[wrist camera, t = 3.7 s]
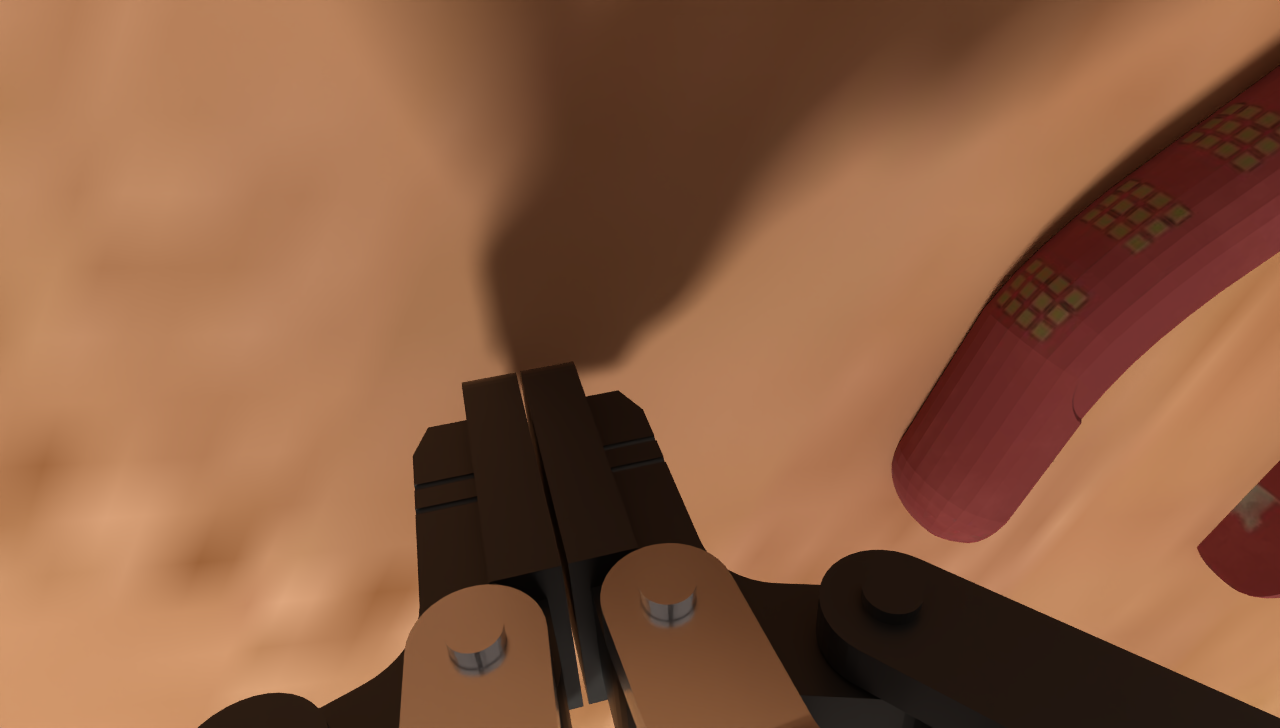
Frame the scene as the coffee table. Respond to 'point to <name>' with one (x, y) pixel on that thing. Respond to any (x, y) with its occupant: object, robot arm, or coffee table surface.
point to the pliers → (1105, 334)
